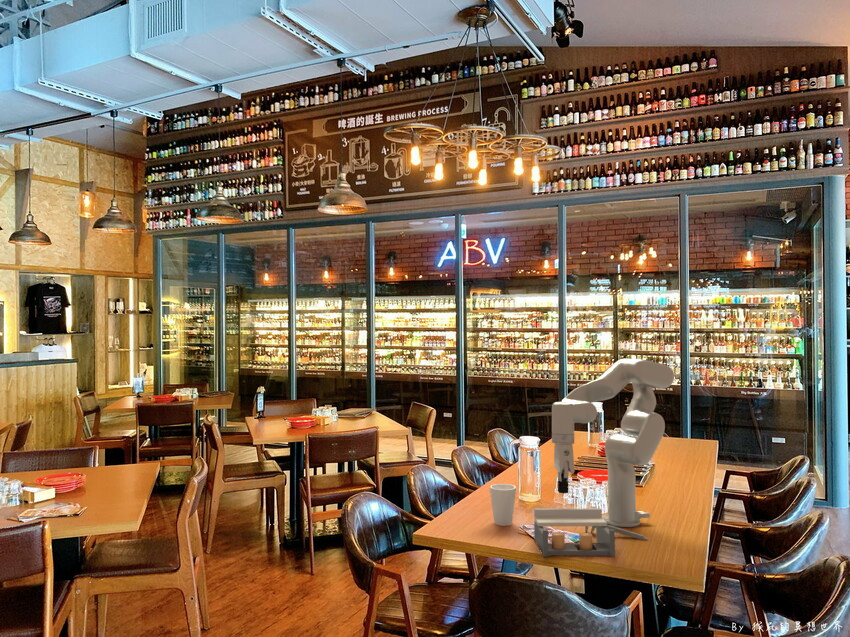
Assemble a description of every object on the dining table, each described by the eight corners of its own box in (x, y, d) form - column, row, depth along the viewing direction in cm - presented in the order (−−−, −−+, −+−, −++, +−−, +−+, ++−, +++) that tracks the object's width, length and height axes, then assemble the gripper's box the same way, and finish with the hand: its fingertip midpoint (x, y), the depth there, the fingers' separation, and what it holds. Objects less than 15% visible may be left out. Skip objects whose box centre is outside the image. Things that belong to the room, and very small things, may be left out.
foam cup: (520, 521, 229) (520, 485, 229) (510, 528, 221) (510, 491, 221) (496, 517, 234) (496, 482, 234) (485, 524, 226) (485, 488, 226)
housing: (600, 540, 208) (600, 515, 208) (614, 556, 193) (614, 530, 193) (534, 540, 208) (534, 516, 208) (543, 556, 193) (543, 530, 193)
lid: (600, 519, 208) (600, 508, 208) (606, 526, 201) (606, 514, 201) (534, 519, 208) (534, 508, 208) (538, 526, 201) (538, 514, 201)
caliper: (585, 533, 216) (585, 515, 216) (585, 532, 217) (585, 514, 217) (648, 541, 208) (647, 522, 208) (648, 540, 209) (648, 521, 209)
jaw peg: (594, 554, 195) (593, 536, 195) (581, 554, 195) (581, 536, 195) (590, 549, 199) (590, 532, 199) (577, 550, 199) (577, 532, 199)
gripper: (579, 442, 207) (579, 498, 206) (568, 435, 222) (568, 487, 221) (556, 442, 207) (556, 498, 206) (547, 435, 222) (547, 487, 221)
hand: (563, 492), depth 214 cm, fingers closed
